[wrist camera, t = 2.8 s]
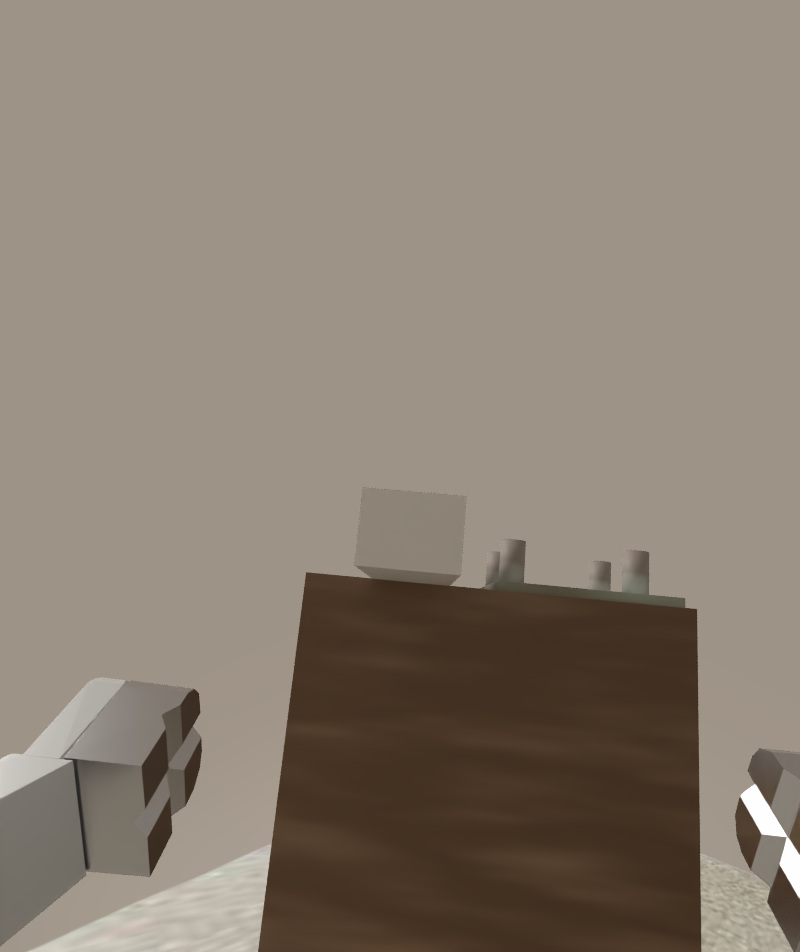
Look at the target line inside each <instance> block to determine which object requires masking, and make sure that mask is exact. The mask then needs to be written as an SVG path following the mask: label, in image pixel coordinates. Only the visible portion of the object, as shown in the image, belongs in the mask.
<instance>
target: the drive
mask: <svg viewBox="0 0 800 952" xmlns="http://www.w3.org/2000/svg"><path fill="white" fill-rule="evenodd" d="M465 510H466V496H458V495H447V494H435V493H423V492H412V491H401V490H388V489H378V488H377V489H376V488H366V487H363V489H362V498H361V507H360V517H359V525H358V535H357V544H356V553H355V562H354V566H356V567H357V568H358V569H360V570H362V571H363V572H364V573H366V574H367V575H368V576H370V577H371V578H372V579H381V580H392V581H402V582H413V583H424V584H434V585H445V586H450V585H451V584H452V583H453V582H454V581H455V580H456V579H457V578H459V577H460V576H461V565H462V553H463V539H464V525H465Z"/></svg>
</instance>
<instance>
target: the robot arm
mask: <svg viewBox="0 0 800 952" xmlns="http://www.w3.org/2000/svg"><path fill="white" fill-rule="evenodd" d="M199 714H200V702H199V693H198V692H197V691H196V690H195V689H191V688H183V687H175V686H168V685H160V684H152V683H144V682H137V681H130V682H129V681H125V680H117V679H109V678H100V677H99V678H96V679H93V680H91V681H89V682H88V683H87V684H86V685H85V686H84V688H83V689H82V690H81V691H80V692H79V693H78V694H77V695H76V696H75V697H74V698H73V700H72V701H71V702H70V703H69V704H68V705H67V706H66V707H65V708H64V709H63V711H62V712H61V713H60V714H59V715H58V716H57V717H56V718H55V719H54V721H53V722H52V723H51V724H50V725H49V726H48V727H47V728H46V729H45V731H44V732H43V733H42V734H41V735H40V736H39V737H38V738H37V739H36V741H35V742H34V743H33V744H32V745H31V746H30V747H29V748H28V749H27V750H26V752H25V753H24V754H23V755H21V754H10V755H8V756H6V757H4V758H2V759H0V946H1V945H2V944H4V943H5V942H6V941H7V940H9V939H10V938H11V937H12V936H13V935H15V934H16V933H17V932H18V931H19V930H21V929H22V928H23V927H24V926H25V925H27V924H28V923H29V922H30V921H32V920H33V919H34V918H35V917H36V916H38V915H39V914H40V913H41V912H43V911H44V910H45V909H46V908H47V907H49V906H50V905H51V904H52V903H53V902H54V901H56V900H57V899H58V898H60V897H61V896H62V895H63V894H64V893H66V892H67V891H68V890H69V889H70V888H71V887H73V886H74V885H75V884H76V883H78V882H79V881H80V880H81V879H83V878H84V877H85V876H86V871H88V872H101V873H111V874H123V875H135V876H146V877H150V876H151V874H152V872H153V870H154V868H155V866H156V864H157V862H158V860H159V858H160V856H161V854H162V852H163V850H164V848H165V846H166V844H167V842H168V840H169V838H170V836H171V834H172V822H171V816H172V815H173V814H175V813H176V812H178V811H179V810H180V809H182V808H183V807H185V806H186V804H187V802H188V800H189V798H190V795H191V793H192V791H193V789H194V786H195V782H196V779H197V776H198V772H199V768H200V761H201V752H202V749H201V748H202V747H201V736H200V735H199V734H198V733H197V731H196V730H195V729H194V727H193V725H194V723H195V721H196V719H197V717H198V716H199ZM748 772H749V774H750V776H751V778H752V780H753V782H754V783H755V785H753V786H752V787H751V788H749V789H748V790H747V791H745V792H744V793H743V794H742V795H740V798H739V802H738V806H737V810H736V814H735V819H736V833H737V838H738V842H739V845H740V848H741V852H742V854H743V856H744V858H745V860H746V862H747V864H748V866H749V868H750V870H751V871H752V872H753V873H754V874H756V875H757V876H758V877H759V878H760V879H761V880H763V881H764V882H765V883H766V884H767V885H769V886H770V887H771V888H770V892H769V897H768V901H767V902H768V904H769V906H770V908H771V910H772V912H773V914H774V916H775V918H776V919H777V921H778V923H779V925H780V927H781V929H782V931H783V933H784V934H785V936H786V938H787V940H788V942H789V944H790V946H791V948H792V950H793V951H794V952H800V752H790V751H780V750H770V749H761V748H760V749H759V750H758V751H757V752H756V753H755V754H754V755H753V756H752V759H751V762H750V765H749V768H748Z"/></svg>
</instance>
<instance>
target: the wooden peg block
mask: <svg viewBox="0 0 800 952" xmlns="http://www.w3.org/2000/svg"><path fill="white" fill-rule="evenodd" d="M525 544H526V542H525V541H522V540H514V539H503V540H501V546H500V552H488V555H487V570H486V571H487V572H486V586H485V587H482V588H480V589H476V588H466V587H456V586H445V585H434V584H424V583H413V582H402V581H392V580H381V579H370V578H360V577H349V576H339V575H327V574H316V573H306V579H305V587H304V595H303V602H302V610H301V618H300V626H299V634H298V642H297V650H296V658H295V665H294V673H293V681H292V689H291V698H290V705H289V713H288V720H287V728H286V737H285V744H284V752H283V760H282V768H281V776H280V784H279V792H278V800H277V807H276V815H275V823H274V831H273V839H272V847H271V854H270V862H269V870H268V878H267V886H266V894H265V902H264V910H263V918H262V925H261V933H260V941H259V949H258V952H701V894H700V819H699V817H700V815H699V735H698V661H697V660H698V656H697V609H690V608H685V598H677V597H665V596H655V595H649V552H646V551H636V550H626V551H623V554H622V558H623V559H622V592H612V591H610V583H611V582H610V581H611V563H610V562H605V561H589V587H588V588H589V589H579V588H569V587H558V586H548V585H537V584H526V583H524V566H525V546H526V545H525Z"/></svg>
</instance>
